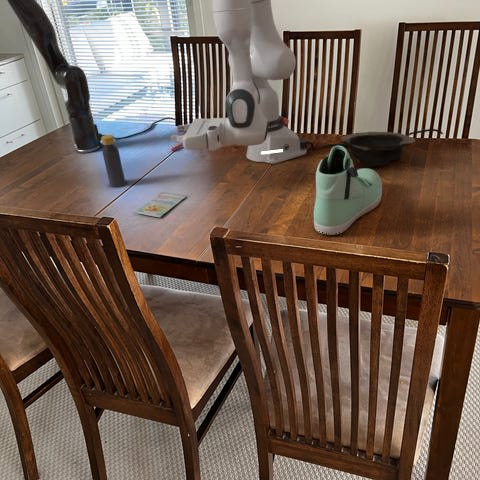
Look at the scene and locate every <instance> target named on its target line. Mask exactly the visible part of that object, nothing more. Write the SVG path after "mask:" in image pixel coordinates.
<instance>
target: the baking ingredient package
mask: <svg viewBox="0 0 480 480" xmlns="http://www.w3.org/2000/svg"><path fill="white" fill-rule="evenodd" d="M185 198H186V195H185V196H184V195H178V194H172V193H168V192H167V193H166V192H162V193H160V194H159V195H157V197H155V198H153V199H152V200H151V201H149V202H148V203H147V204H145V205H144V206H143V207H141V208H140V209H138V210H137V211H135V214H139V215H144V216H150V217H155V218H161V217H162V216H163V215H164V214H166V213H168V211H170V210H171V209H172V208H173V207H175V206H176V205H177V204H179V203H180V202H181V201H182V200H184V199H185Z"/></svg>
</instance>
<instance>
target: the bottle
mask: <svg viewBox="0 0 480 480" xmlns="http://www.w3.org/2000/svg"><path fill="white" fill-rule="evenodd" d="M102 156H103V161H104V165H105V169H106V174H107V179H108V183H109V186H110V187H111V188H120V187H123V186H124V185H125V184H126V178H125V173H124V170H123V165H122V160H121V155H120V151H119V149H118V147H117V146H116V145H115V144H114V143H113V144H111V145H104V147H103V149H102Z"/></svg>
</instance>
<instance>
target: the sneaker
mask: <svg viewBox="0 0 480 480" xmlns="http://www.w3.org/2000/svg"><path fill="white" fill-rule="evenodd" d="M317 165H318V166H317V168H316V172H315V201H314V207H313V225H314V229H315V231H316V232H318V233H320V234H323V235H326V236H327V235H328V236H336V235H339V234H342V233H344V232H345V231H347V230H348V229H349V228H350V227H351V226H352V225H353V224H354V222H356V221H357V220H358V219H359V218H360V217H362V216H363V215H365V214H367V213H370V212H372V210H374V209H375V208H377V207H378V205H380V203H381V200H382V196H383V184H382V183H383V182H382V179H381V176H380V175H379V173H378V172H377V171H376V170H374V169H372V168H369V167H368V168H367V167H364V168H358V169H357V168H355V167H354V161H353V159H352V158H351V156H350V153H349V152H348V150H347V148H345V146H332V147H331V149H330V151H329V154H327V155H326V156H325V157H324V158H322V159H321V160H320V161H319V163H318V164H317ZM343 230H344V231H343ZM319 231H320V232H319ZM322 232H323V233H322ZM339 232H340V233H339ZM326 233H327V234H326ZM328 233H329V234H328ZM335 233H337V234H335Z"/></svg>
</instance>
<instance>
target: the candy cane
mask: <svg viewBox="0 0 480 480" xmlns="http://www.w3.org/2000/svg"><path fill="white" fill-rule="evenodd" d="M182 147H183V143H179V144H176V145H174V146H173V147H171V148H170V151H171V152H174V151H177V150H179V149H180V148H182Z"/></svg>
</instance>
